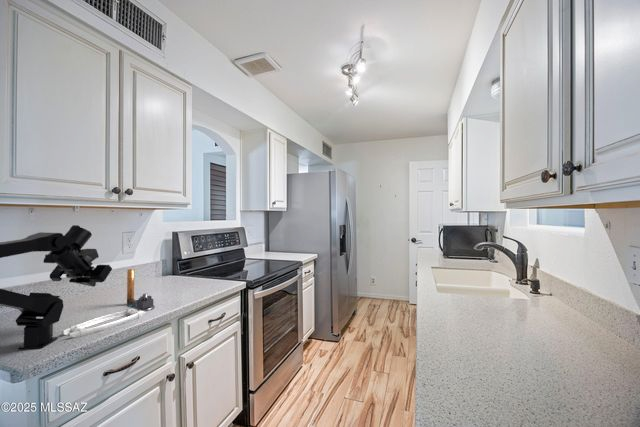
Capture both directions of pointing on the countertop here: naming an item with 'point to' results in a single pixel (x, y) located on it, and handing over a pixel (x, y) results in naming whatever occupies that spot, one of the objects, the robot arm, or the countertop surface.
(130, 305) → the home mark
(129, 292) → the l-shaped piece
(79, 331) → the door handle
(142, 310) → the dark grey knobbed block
